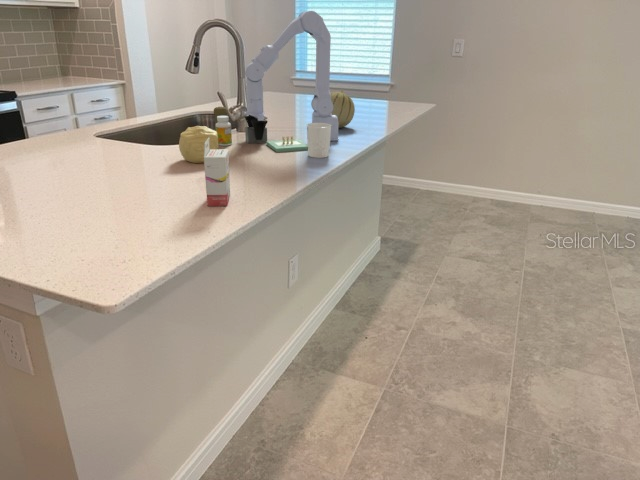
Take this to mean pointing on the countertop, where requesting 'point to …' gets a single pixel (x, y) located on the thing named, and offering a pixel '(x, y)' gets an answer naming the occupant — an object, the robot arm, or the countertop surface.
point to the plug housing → (251, 135)
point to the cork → (220, 113)
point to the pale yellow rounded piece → (197, 143)
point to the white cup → (318, 139)
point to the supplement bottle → (223, 131)
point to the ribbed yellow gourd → (342, 108)
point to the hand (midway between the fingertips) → (256, 137)
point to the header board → (287, 145)
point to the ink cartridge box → (216, 175)
